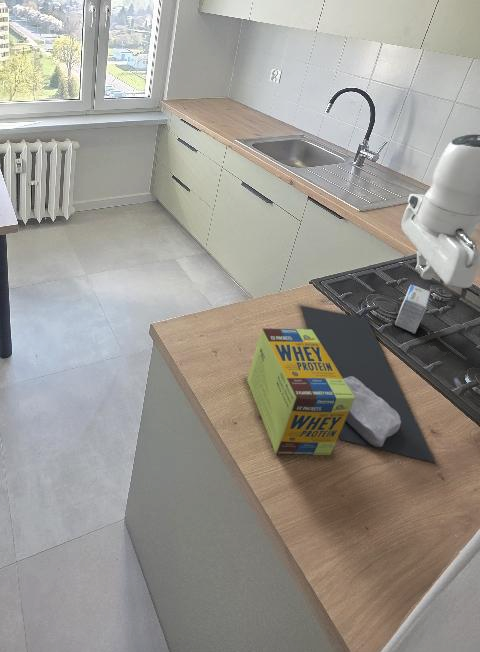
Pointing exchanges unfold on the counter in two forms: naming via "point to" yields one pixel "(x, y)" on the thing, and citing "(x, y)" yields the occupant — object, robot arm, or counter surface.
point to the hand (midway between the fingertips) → (422, 275)
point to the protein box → (298, 392)
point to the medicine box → (413, 308)
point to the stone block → (371, 414)
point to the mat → (367, 376)
